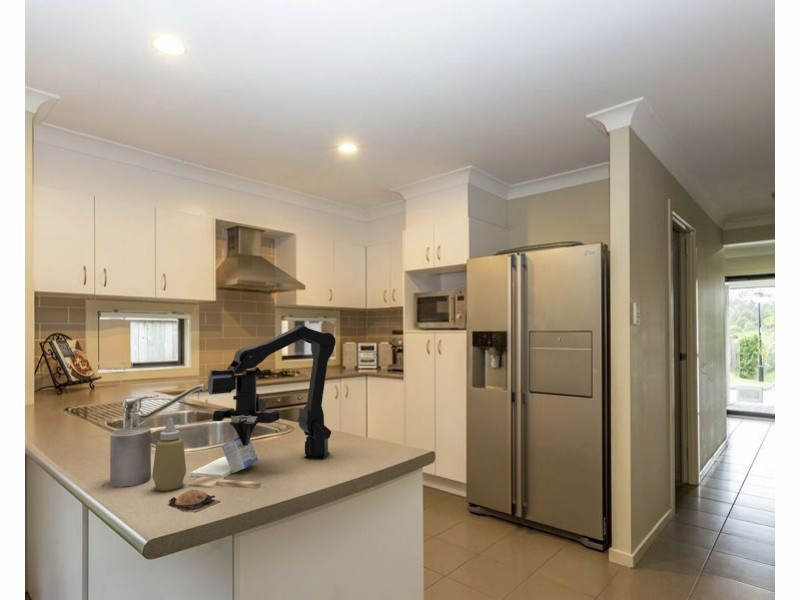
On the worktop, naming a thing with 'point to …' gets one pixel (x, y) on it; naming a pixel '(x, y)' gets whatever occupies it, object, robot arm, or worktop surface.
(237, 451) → the medicine box
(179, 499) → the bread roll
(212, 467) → the mat
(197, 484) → the wooden turner
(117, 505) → the worktop surface
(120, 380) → the worktop surface
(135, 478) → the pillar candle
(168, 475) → the squeeze bottle
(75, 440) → the worktop surface
